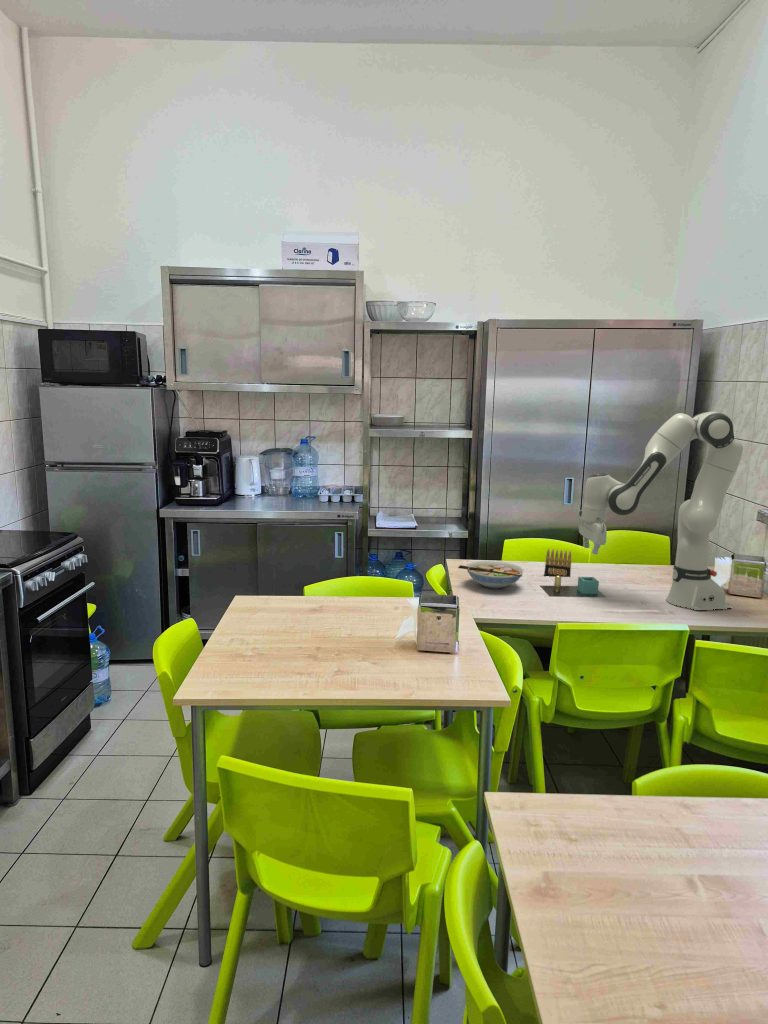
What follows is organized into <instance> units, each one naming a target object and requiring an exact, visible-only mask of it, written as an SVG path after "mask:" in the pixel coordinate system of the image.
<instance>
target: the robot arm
mask: <svg viewBox="0 0 768 1024" xmlns="http://www.w3.org/2000/svg"><path fill="white" fill-rule="evenodd" d="M695 439H697V440H699V441H702V442H704V443H707V445H708V451H707V455H706V457H705V459H704V461H703V464H702V466H701V468H700V470H699V473H698V474H697V477H696V479H695V481H694V485H693V490H692V494H691V496H690V499H687V500H685V501H683V502H682V503H681V504H680V507H679V509H678V516H677V547H676V554H675V562H674V563H675V564H674V565H673V568H672V569H673V570H672V583H671V584H670V585H671V586H670V589H669V593H668V595H667V597H666V602H668V603H670V604H671V605H674V606H676V605H677V606H676V607H680V606H681V608H685V607H687V608H686V609H690V608H691V609H690V610H693V609H694V610H693V611H696V610H707V611H716V610H715V609H723V610H727V609H726V608H731V607H732V603H730V602H728V600H726V599H727V598H726V592H725V589H724V588H723V587H721V585H719V584H718V583H717V582H716V581H715V580H714V579H713V578H712V577H714V578H715V577H717V571H715V570H713V569H712V570H711V569H710V568H708V566H709V559H710V558H709V556H710V552H711V551H710V548H711V547H710V545H711V544H710V533H712V532H713V531H714V530H715V529H716V527H717V525H718V520H719V517H720V514H721V511H722V508H723V504H724V501H725V497H726V495H727V492H728V490H729V488H730V485H731V484H732V481H733V479H734V476H735V475H736V472H737V470H738V468H739V465H740V462H741V460H742V455H743V450H744V447H743V444H742V443H741V441H739V440H738V439H737V438H735V431H734V424H733V421H732V419H731V418H730V417H729V416H728V415H726V414H724V413H721V412H718V411H703V412H700V413H697V414H695V415H692V416H690V415H689V414H686V413H682V412H680V413H676V414H674V415H672V417H670V418H669V419H667V420H666V421H665V422H664V423H663V424H662V425H661V426H660V428H658V430H656V432H655V433H654V434H653V435H652V437H651V438H650V440H649V441H648V443H647V444H646V445H645V449H644V450H645V451H644V456H643V460H642V463H641V465H640V466H639V468H638V469H637V470H636V471H635V472H634V474H633V475H632V476H631V477H630V479H629V480H628V481H627V482H626V483H623V482H620V481H618V480H616V479H615V478H614V477H611V475H609V474H608V473H605V472H603V473H602V472H601V473H593V474H591V475H589V476H588V477H587V478H586V483H585V486H584V495H583V497H584V503H583V505H582V509H580V510H579V511H578V516H579V518H578V532H579V534H580V535H581V536H582V541H583V548H585V549H590V545H591V544H590V542H592V543H593V548H592V551H591V553H592V554H593V555H594V556H595V555H598V554H599V550H600V548H601V546H605V545H606V543H607V532H608V529H607V525H606V524H605V522H607V515H608V508H610V510H611V511H612V512H613V513H614V514H616V515H619V516H627V515H630V514H632V513H634V511H635V510H636V509H637V508H638V505H639V501H640V499H641V496H642V494H643V493H644V492H645V491H646V489H647V488H648V487H649V486H650V484H651V483H652V482H653V481H654V479H655V478H656V476H657V475H658V474H659V473H660V472H661V471H662V470H663V469H664V468H665V467H666V466H668V464H670V463H671V462H673V460H674V459H675V458H676V457H677V456H678V455H679V454H680V453H681V451H683V449H684V448H685V447H686V445H687V444H688V443H690V442H692V441H693V440H695ZM711 576H712V577H711ZM713 609H714V610H713ZM731 609H732V608H731Z"/></svg>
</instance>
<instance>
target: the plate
mask: <svg viewBox="0 0 768 1024" xmlns="http://www.w3.org/2000/svg"><path fill="white" fill-rule="evenodd" d="M561 584H562V577H560V576H556V577H554V585H539V587H540V588H541V590H542V591H544V592H545V594H546V595H547V596H548V597H553V598H554V597H555V598H558V597H559V598H561V597H563V598H607V596H606V595H605V594H603V592H602V591H600V590H599V589H598V594H582V593H581V592H580V591H579V590H578V589H577V586H578V585H561Z"/></svg>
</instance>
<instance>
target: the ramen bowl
mask: <svg viewBox="0 0 768 1024" xmlns="http://www.w3.org/2000/svg"><path fill="white" fill-rule="evenodd" d="M457 567H458V569H462V570H467V574H469V576H470V577H471V578H472V580H473V581H475V582H476V583H478V584H480V585H482V586H484V587H485V588H487V587H488V589H493V588H494V589H498V588H499V589H502V588H505V587H509V586H511V585H513V584H515V583H516V582H518V581H519V580H520V578H521V577H523V574H524V571H525V570H524V569H523V568H522V567H521V566H520V565H517V564H514V563H509V562H505V561H504V562H503V561H498V560H497V561H496V560H479V561H473V562H470V563H468V564H466V565H461V564H459V566H457ZM494 589H493V590H494Z"/></svg>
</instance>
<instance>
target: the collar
mask: <svg viewBox="0 0 768 1024" xmlns="http://www.w3.org/2000/svg"><path fill="white" fill-rule="evenodd" d="M599 585H600V581H599V580H598V579H597V578H595V577H594V576H578V577H577V585H576V586H577V589H578V590H579V591H580V592H581V593H582V594H598V590H599Z"/></svg>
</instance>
